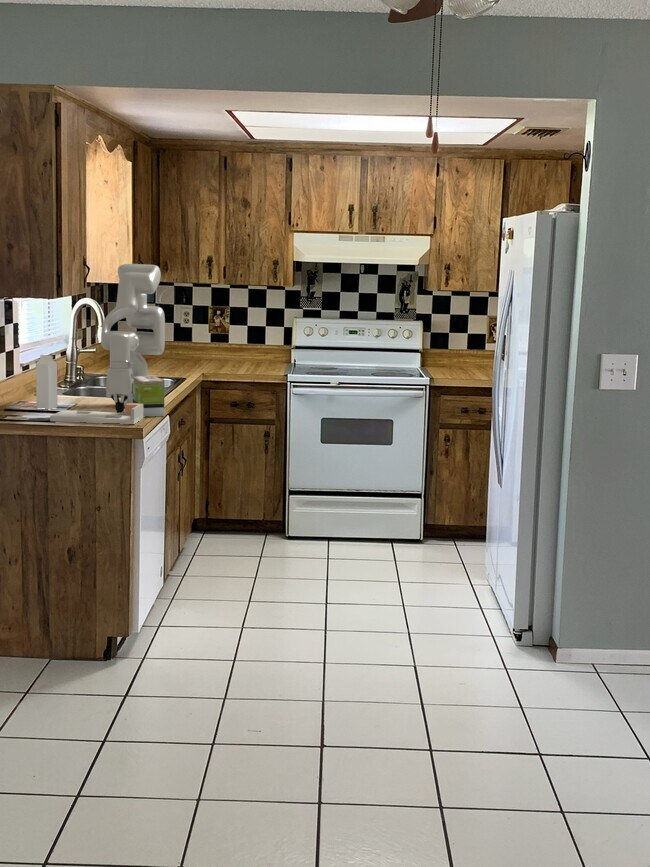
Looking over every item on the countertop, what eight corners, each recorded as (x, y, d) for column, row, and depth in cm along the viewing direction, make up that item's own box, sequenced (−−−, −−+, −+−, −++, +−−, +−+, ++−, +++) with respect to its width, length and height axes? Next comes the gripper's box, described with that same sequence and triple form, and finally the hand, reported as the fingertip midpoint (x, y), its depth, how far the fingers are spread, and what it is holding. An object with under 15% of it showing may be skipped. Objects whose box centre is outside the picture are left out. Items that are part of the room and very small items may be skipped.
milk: (45, 407, 392) (44, 354, 389) (57, 408, 390) (57, 355, 387) (36, 409, 387) (35, 355, 383) (48, 410, 385) (48, 356, 381)
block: (127, 413, 373) (127, 402, 373) (140, 413, 374) (140, 403, 373) (125, 414, 369) (125, 404, 368) (138, 415, 369) (138, 405, 368)
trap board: (63, 415, 375) (62, 400, 374) (143, 418, 373) (143, 403, 372) (50, 421, 360) (50, 405, 359) (133, 424, 359) (133, 409, 358)
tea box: (131, 411, 391) (131, 375, 388) (155, 411, 395) (156, 375, 392) (140, 417, 377) (140, 380, 374) (165, 416, 381) (165, 380, 379)
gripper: (141, 365, 370) (141, 411, 373) (103, 363, 371) (103, 410, 374) (136, 367, 362) (136, 414, 366) (97, 365, 363) (98, 413, 366)
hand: (119, 412), depth 370 cm, fingers closed
